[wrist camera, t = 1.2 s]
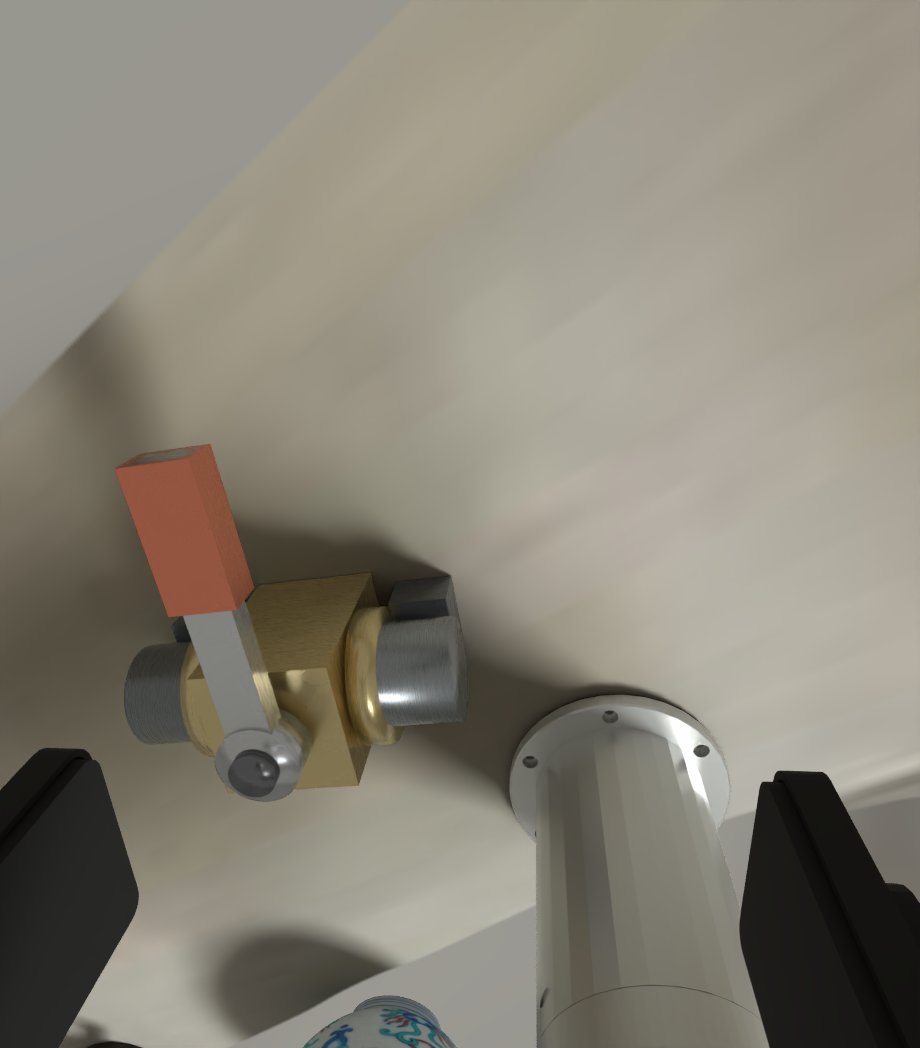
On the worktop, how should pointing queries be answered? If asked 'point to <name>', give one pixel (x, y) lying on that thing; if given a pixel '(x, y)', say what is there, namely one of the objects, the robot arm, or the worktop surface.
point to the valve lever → (215, 613)
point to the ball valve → (321, 671)
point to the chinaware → (384, 1027)
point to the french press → (112, 1045)
